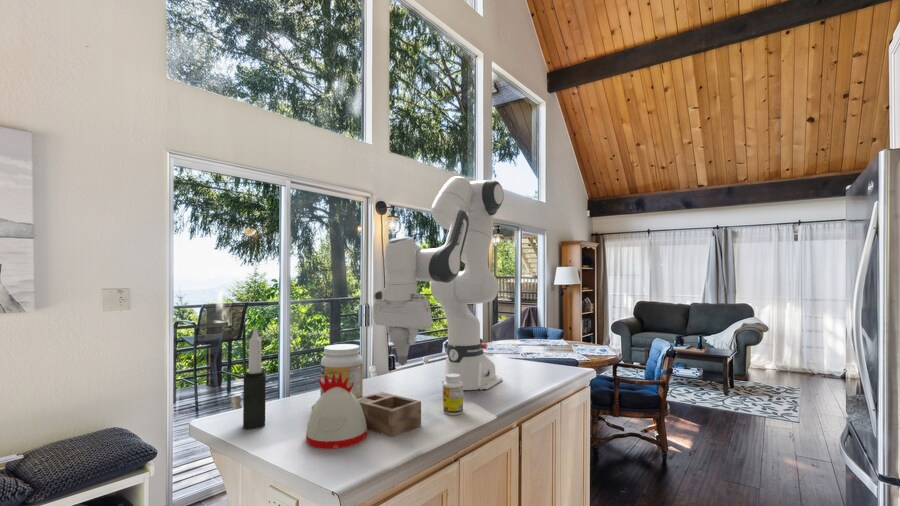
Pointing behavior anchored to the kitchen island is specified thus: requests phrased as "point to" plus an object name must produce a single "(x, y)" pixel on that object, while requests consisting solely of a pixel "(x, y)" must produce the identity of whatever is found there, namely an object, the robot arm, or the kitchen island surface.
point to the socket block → (390, 413)
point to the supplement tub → (344, 366)
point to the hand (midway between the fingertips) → (402, 343)
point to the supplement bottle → (453, 395)
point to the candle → (254, 387)
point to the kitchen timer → (336, 417)
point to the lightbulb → (401, 343)
